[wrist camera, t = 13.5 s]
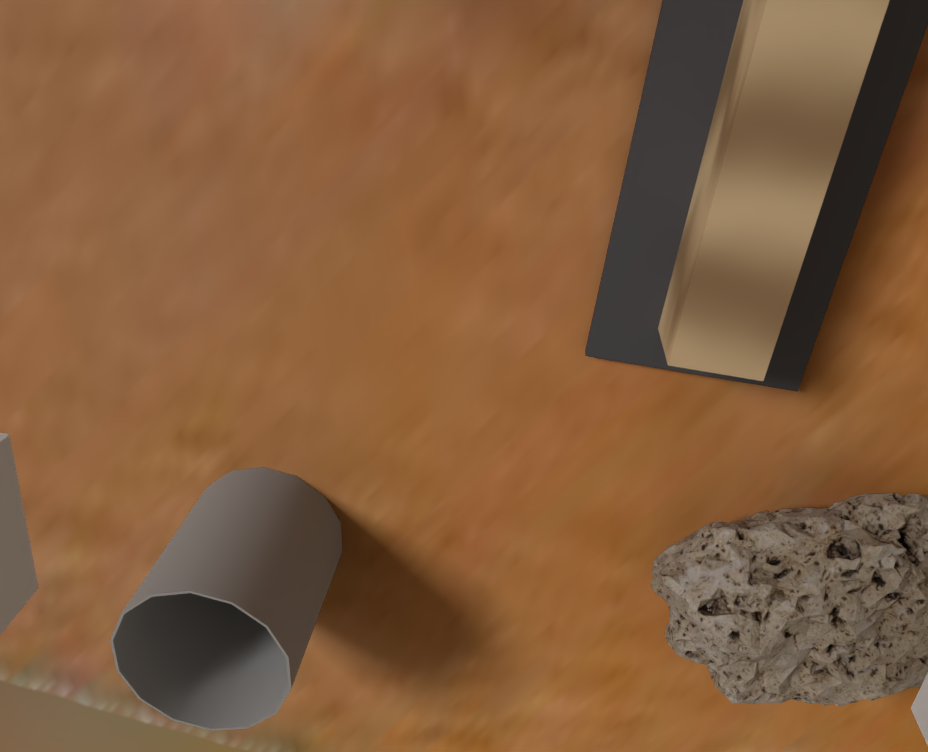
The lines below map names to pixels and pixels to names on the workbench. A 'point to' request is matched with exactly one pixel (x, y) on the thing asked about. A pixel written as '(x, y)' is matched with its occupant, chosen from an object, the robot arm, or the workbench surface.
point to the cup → (231, 602)
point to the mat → (676, 170)
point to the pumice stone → (804, 601)
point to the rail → (764, 178)
